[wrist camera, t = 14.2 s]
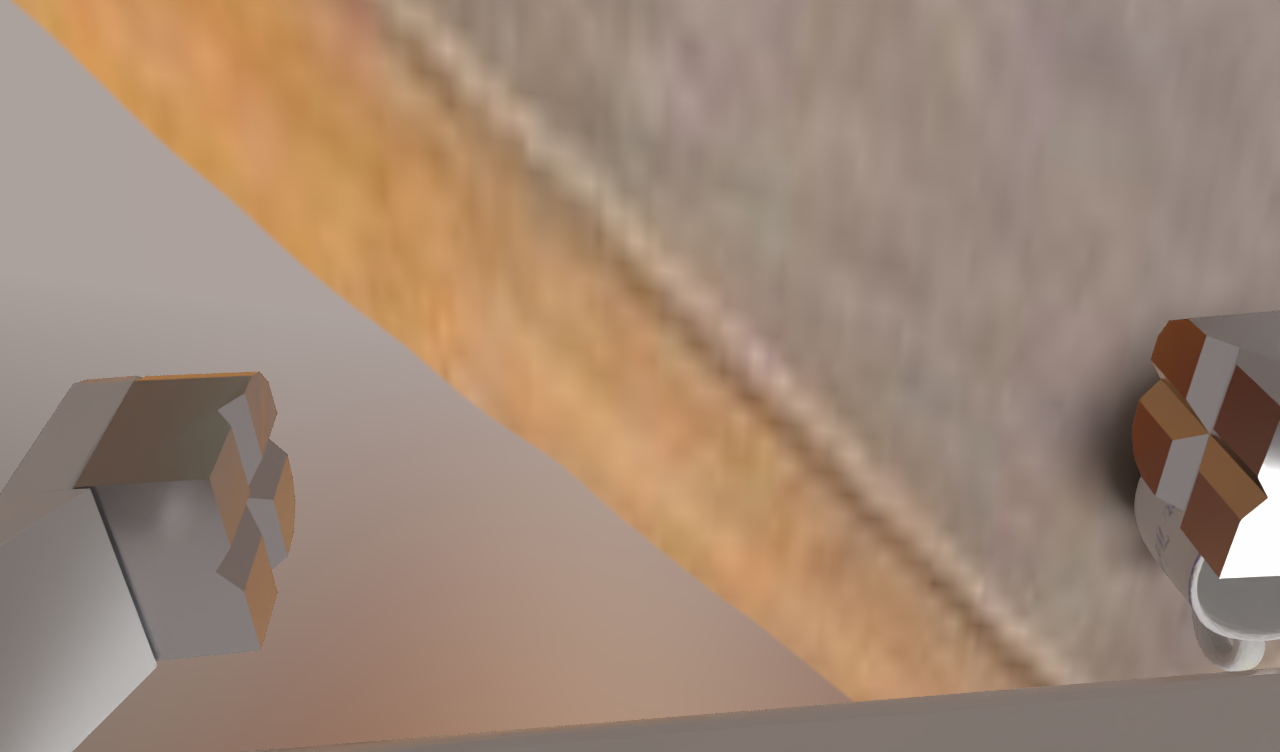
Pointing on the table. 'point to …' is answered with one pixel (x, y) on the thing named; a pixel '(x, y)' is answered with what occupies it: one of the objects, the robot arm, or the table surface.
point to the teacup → (1210, 589)
